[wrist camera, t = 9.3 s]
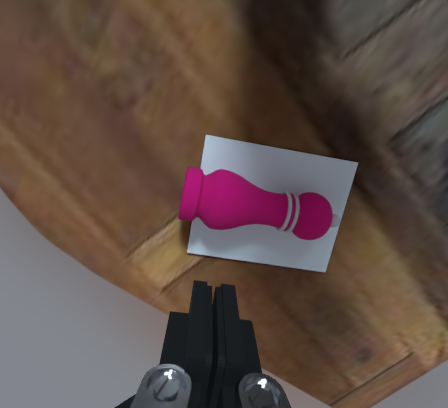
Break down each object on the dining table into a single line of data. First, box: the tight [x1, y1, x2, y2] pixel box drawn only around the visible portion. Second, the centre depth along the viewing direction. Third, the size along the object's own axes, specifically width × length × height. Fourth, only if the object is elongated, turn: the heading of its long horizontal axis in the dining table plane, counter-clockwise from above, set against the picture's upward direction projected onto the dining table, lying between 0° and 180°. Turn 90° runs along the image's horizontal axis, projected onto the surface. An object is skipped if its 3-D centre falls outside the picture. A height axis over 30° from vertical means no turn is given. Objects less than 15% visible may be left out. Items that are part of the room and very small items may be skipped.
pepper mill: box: [178, 167, 340, 240], centre depth 36 cm, size 7×7×20 cm
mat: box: [187, 135, 358, 272], centre depth 40 cm, size 16×20×1 cm
